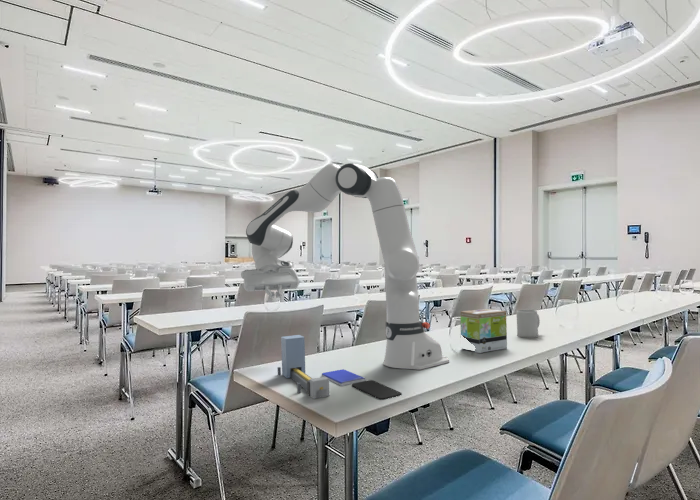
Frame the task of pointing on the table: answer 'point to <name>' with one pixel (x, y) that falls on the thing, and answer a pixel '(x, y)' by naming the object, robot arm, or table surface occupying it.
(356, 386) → the phone
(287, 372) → the pale blue block
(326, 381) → the cord rail
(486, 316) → the tea box
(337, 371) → the hard drive
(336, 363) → the table surface
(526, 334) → the mug
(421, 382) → the table surface
